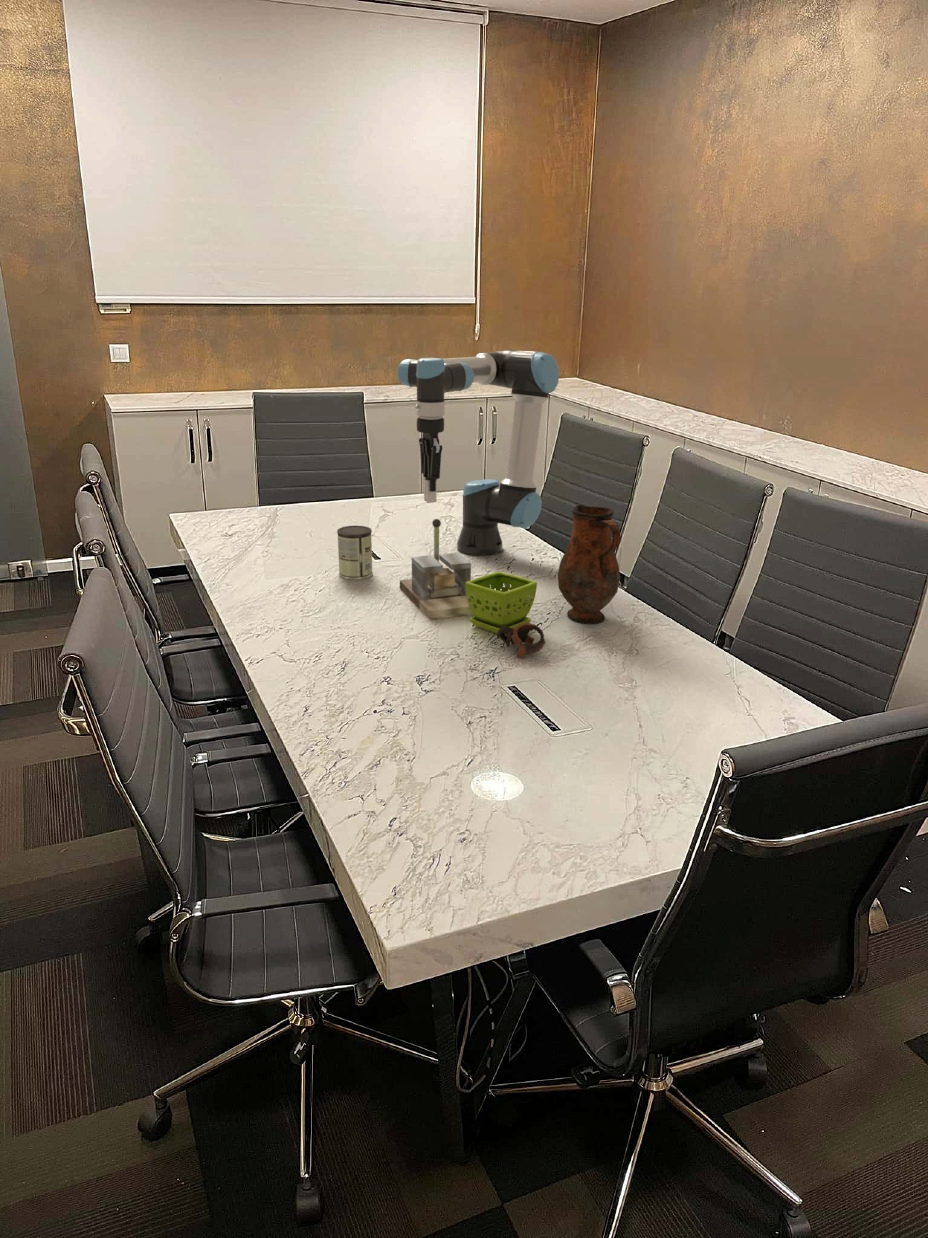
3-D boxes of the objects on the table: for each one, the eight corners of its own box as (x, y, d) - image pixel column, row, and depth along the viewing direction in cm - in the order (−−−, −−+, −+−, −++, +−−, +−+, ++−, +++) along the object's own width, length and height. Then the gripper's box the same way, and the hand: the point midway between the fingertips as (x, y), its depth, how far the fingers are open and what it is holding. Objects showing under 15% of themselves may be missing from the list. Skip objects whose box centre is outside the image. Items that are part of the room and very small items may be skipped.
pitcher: (596, 603, 262) (603, 499, 251) (637, 629, 244) (646, 518, 233) (543, 610, 256) (549, 504, 245) (581, 637, 238) (589, 524, 227)
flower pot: (537, 626, 245) (539, 581, 240) (502, 641, 235) (504, 594, 230) (497, 613, 253) (498, 569, 249) (462, 626, 244) (463, 581, 239)
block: (447, 587, 265) (447, 567, 263) (454, 594, 260) (454, 573, 258) (427, 589, 263) (427, 569, 261) (434, 596, 258) (434, 576, 256)
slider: (449, 583, 267) (450, 516, 260) (461, 594, 259) (462, 525, 252) (420, 586, 264) (419, 519, 257) (431, 597, 256) (431, 528, 249)
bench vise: (451, 582, 277) (451, 544, 272) (484, 613, 253) (485, 571, 249) (399, 588, 271) (399, 548, 267) (429, 619, 248) (429, 577, 244)
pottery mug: (543, 645, 234) (551, 625, 227) (534, 674, 228) (542, 654, 221) (498, 630, 235) (504, 610, 228) (488, 658, 229) (494, 638, 222)
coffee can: (342, 568, 288) (341, 524, 283) (375, 570, 287) (374, 526, 282) (335, 579, 278) (333, 533, 273) (368, 580, 277) (368, 535, 272)
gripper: (409, 413, 258) (409, 496, 266) (425, 421, 245) (425, 508, 254) (434, 412, 260) (434, 494, 269) (452, 420, 248) (451, 506, 256)
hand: (430, 501), depth 261 cm, fingers closed
